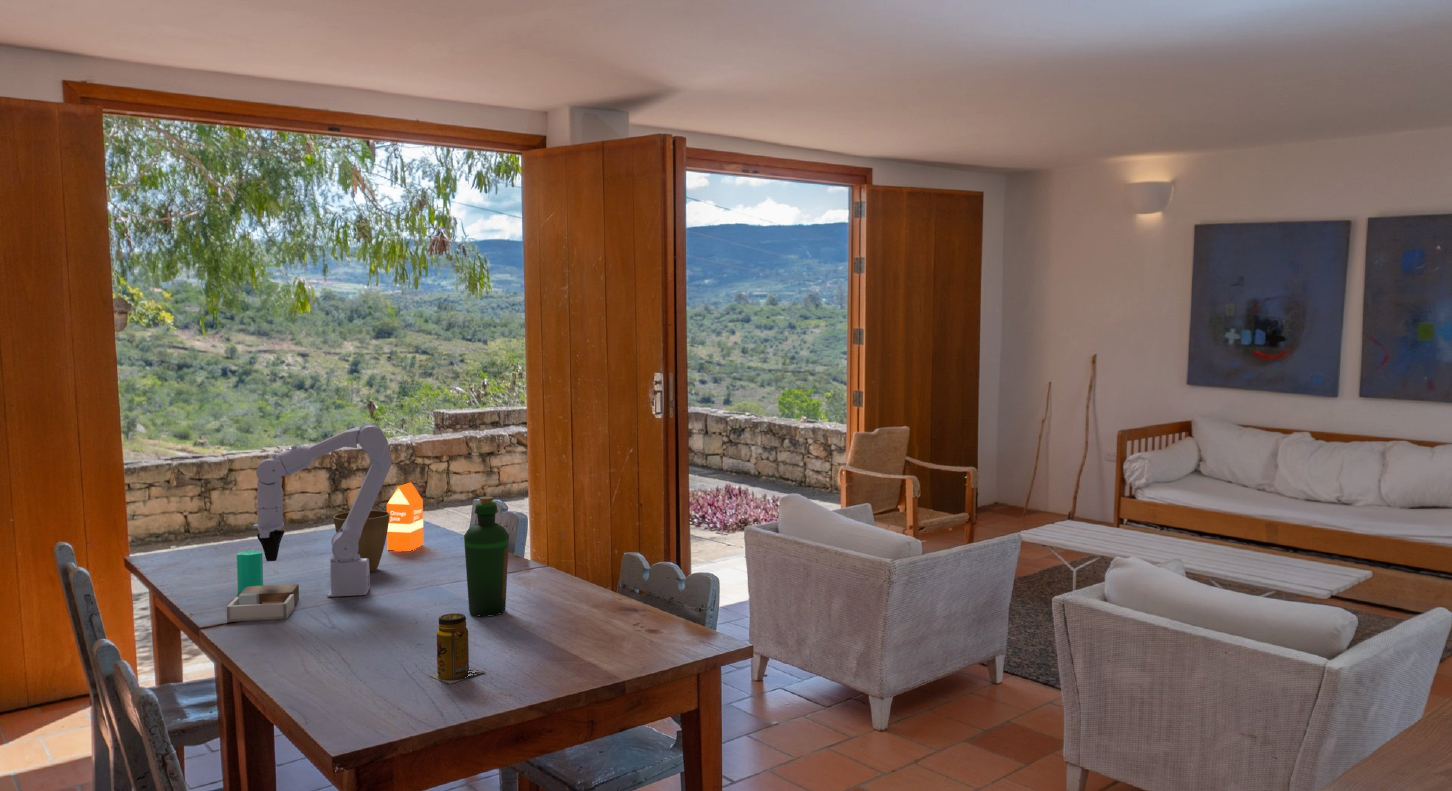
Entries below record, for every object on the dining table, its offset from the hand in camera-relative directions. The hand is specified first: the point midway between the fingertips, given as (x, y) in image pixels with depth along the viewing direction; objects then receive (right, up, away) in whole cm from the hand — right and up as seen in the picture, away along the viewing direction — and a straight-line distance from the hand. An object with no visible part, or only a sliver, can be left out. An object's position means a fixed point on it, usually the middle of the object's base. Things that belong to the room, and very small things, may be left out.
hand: (271, 560), depth 252 cm
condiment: (+61, -14, -52) cm, 81 cm away
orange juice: (+15, -6, +59) cm, 61 cm away
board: (+2, -10, -5) cm, 11 cm away
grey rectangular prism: (0, -8, -11) cm, 13 cm away
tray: (+3, -11, -13) cm, 17 cm away
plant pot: (+12, -8, +31) cm, 34 cm away
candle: (-9, -10, +7) cm, 15 cm away
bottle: (+56, -11, -9) cm, 58 cm away
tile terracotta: (+6, -8, -13) cm, 17 cm away
